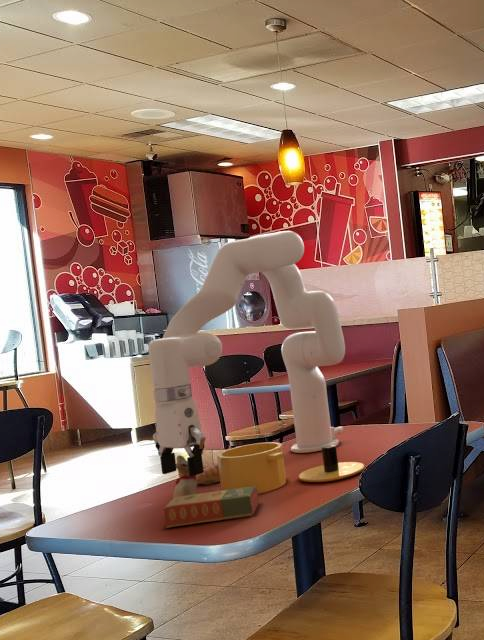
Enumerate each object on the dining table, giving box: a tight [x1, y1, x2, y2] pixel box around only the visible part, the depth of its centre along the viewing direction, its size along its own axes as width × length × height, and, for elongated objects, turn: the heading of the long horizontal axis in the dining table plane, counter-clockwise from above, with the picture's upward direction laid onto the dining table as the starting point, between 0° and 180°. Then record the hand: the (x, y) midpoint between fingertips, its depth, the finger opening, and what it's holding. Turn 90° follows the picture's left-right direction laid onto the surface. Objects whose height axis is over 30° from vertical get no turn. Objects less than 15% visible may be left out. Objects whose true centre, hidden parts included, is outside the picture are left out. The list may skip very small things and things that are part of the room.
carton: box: [163, 486, 260, 529], centre depth 145 cm, size 8×16×4 cm, turn 98°
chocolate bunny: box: [172, 454, 198, 499], centre depth 161 cm, size 6×8×10 cm
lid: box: [298, 445, 365, 483], centre depth 169 cm, size 15×15×7 cm
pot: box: [216, 441, 287, 495], centre depth 165 cm, size 14×19×8 cm
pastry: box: [196, 463, 220, 485], centre depth 177 cm, size 9×7×4 cm
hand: (182, 473), depth 161 cm, fingers open, 9 cm apart
